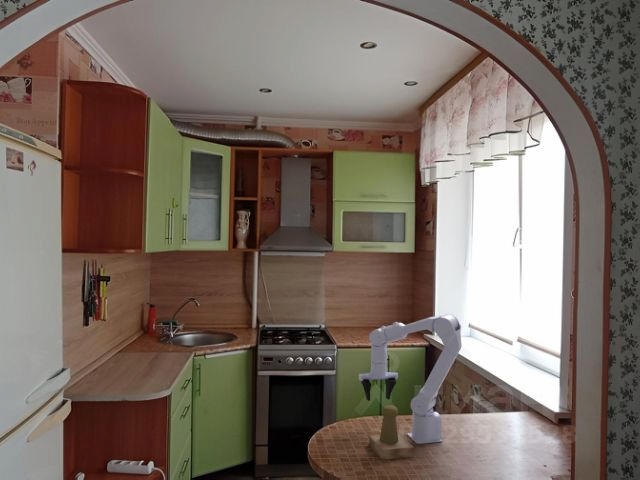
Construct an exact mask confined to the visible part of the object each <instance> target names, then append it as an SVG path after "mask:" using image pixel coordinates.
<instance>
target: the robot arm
mask: <svg viewBox="0 0 640 480" xmlns="http://www.w3.org/2000/svg"><path fill="white" fill-rule="evenodd" d="M459 321H460V320H458V318H457V316H455V315H454V314H450V313H449V314H445V315H436V316H430V317H427V318H424V319H420V320H416V321H414V322H411V323H407V324H405V323H402V322H398V321H395V322H392V324H391V325H387V326H385V325H382V326H381V327H379V328H377V329H374V330H372V331H371V332H370V333H369V334H368V335H369V336H368V340H369V342H370V344H371V345H370V346H371V348H370V349H371V350H370V353H371V354H370V372H367V373H358V380H359V381H360V382H361V384H362V387H363V390H364V394H365V400H367V401H368V402H370V401H371V389H372V383H371V381H372V380H373V381H374V380H375V381H377V380H384V382H385V398H386V399H387V400H390V399H391V396H392V392H393V389H394V388H395V386H396V384H397V380H398V379H399V374H398V372H393V371H392V372H390V371H389V372H388V371H387V370H388V369H387V367H388V366H387V365H388V364H387V363H388V344H390V343H393V342H396V341H397V342H398V341H401V340H403V339H406V338H407V336H408V334H411V333H412V334H413V333H417V332H420V331H421V332H422V331H425V330H428V331H429V332H431V333H433V332H434V333H435V334H436V336H438V338H439V339H440V340H441V342H442V345H443V347H444V348H443V349H442V351H441V353H440V354H439V357H438V359H437V361H436V362H435V363H434V366H433V368H432V370H431V371H430V374H429V376H428V377H427V380H426V381H425V383H424V385H423V387H422V388H421V389H420V390H419V392H418V393H417V395H416V396H414V397H413V398H412V399H411V401H410V408H411V410H412V417H411V418H412V419H411V420H412V421H411V422H412V423H411V432H408V433H407V436H408V437H409V438H410V439H411V440H412V441H413V442H415V443H416V444H418V445H419V444H430V443H440V442H441V443H442V442H443V440H442V419H441V416H440V414H439V412H438V411H434V408H433V407H435V405H436V404H437V395H438V394H439V390H440V388H441V387H442V384H443V383H444V380H445V379H446V377H447V375H448V373H449V371H450V369H451V367H452V366H453V364H454V363H455V361H456V358H457V356H458V355H459V354H460V351H461V349H462V335H461V330H462V325H461V323H460V322H459Z"/></svg>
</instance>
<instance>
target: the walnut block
mask: <svg viewBox="0 0 640 480" xmlns="http://www.w3.org/2000/svg"><path fill="white" fill-rule="evenodd" d="M368 446H370V448H371V449H372V450H373V451H374V452H375V454H376V455H377V456H378V457H379V459H380V460H391V459H393V460H395V459H400V458H401V459H403V458H412V457H413V458H414V457H415V446H414V445H413V444H412V443H411V442H409V440H408V439H406V437H404V435H402V434H401V432H398V442H397V443H395V444H386V443H383V442H381V441H380V434H375V435H368Z"/></svg>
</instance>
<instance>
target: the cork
mask: <svg viewBox="0 0 640 480" xmlns="http://www.w3.org/2000/svg"><path fill="white" fill-rule="evenodd" d="M381 414H382V416H383V417H382V421H381V422H382V423H381V430H380V434H379V435H380V441H381V442H383V443H386V444H395V443H397V442H398V433H399V432H398V426H397V425H398V424H397V416H398V414H399V411H398V408H397V407H396V406H395V405H390V404H388V405H384V406H383V407H382V408H381Z"/></svg>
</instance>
